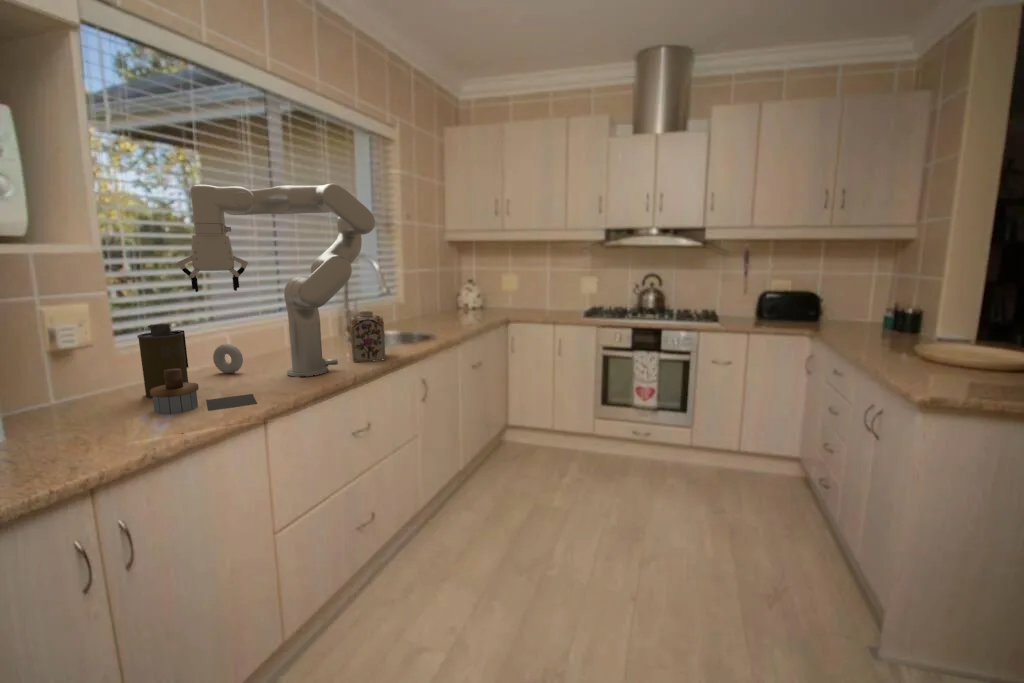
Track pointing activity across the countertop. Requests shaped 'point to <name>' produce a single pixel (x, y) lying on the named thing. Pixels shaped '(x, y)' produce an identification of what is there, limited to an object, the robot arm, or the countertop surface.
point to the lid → (173, 385)
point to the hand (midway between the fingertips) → (216, 291)
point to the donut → (221, 362)
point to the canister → (162, 354)
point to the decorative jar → (367, 337)
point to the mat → (230, 402)
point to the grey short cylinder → (175, 403)
